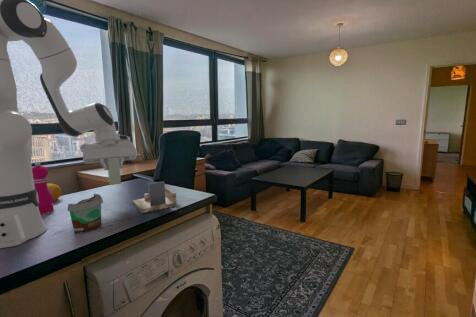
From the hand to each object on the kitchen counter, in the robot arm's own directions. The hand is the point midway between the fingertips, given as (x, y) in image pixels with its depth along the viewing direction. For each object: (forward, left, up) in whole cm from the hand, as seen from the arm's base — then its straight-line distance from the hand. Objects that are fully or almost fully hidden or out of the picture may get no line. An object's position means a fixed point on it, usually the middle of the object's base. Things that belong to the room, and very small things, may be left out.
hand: (113, 168), depth 108 cm
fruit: (-23, +28, -16) cm, 40 cm away
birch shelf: (+13, -6, -16) cm, 22 cm away
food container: (-11, -17, -16) cm, 26 cm away
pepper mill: (-25, +13, -16) cm, 32 cm away
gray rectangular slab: (+13, -11, -15) cm, 23 cm away
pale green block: (0, 0, -6) cm, 6 cm away
